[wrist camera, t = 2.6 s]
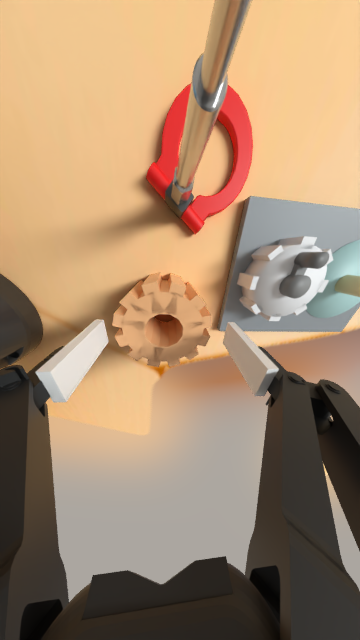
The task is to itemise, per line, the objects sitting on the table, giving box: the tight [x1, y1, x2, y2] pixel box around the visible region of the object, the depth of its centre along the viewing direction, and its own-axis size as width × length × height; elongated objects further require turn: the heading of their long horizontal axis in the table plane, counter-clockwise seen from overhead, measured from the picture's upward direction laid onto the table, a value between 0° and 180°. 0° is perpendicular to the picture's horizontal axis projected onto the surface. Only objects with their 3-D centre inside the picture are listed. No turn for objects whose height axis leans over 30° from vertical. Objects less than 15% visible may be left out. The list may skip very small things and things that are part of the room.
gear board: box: [217, 196, 360, 332], centre depth 16 cm, size 22×16×7 cm
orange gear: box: [112, 273, 212, 367], centre depth 16 cm, size 10×10×6 cm
